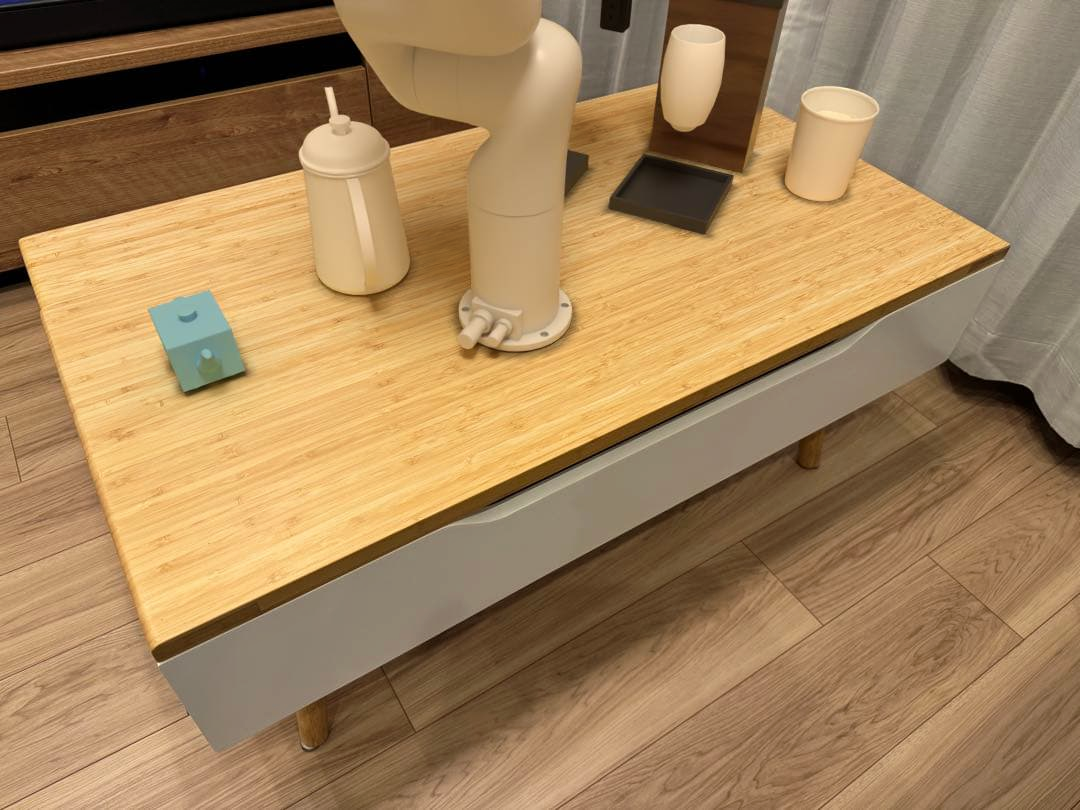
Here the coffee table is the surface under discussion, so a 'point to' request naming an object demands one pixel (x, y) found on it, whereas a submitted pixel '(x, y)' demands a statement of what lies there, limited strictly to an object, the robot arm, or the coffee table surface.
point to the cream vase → (691, 75)
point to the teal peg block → (197, 339)
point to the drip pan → (672, 193)
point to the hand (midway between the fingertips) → (614, 28)
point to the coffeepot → (353, 206)
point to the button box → (574, 168)
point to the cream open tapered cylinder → (828, 141)
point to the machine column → (725, 80)
